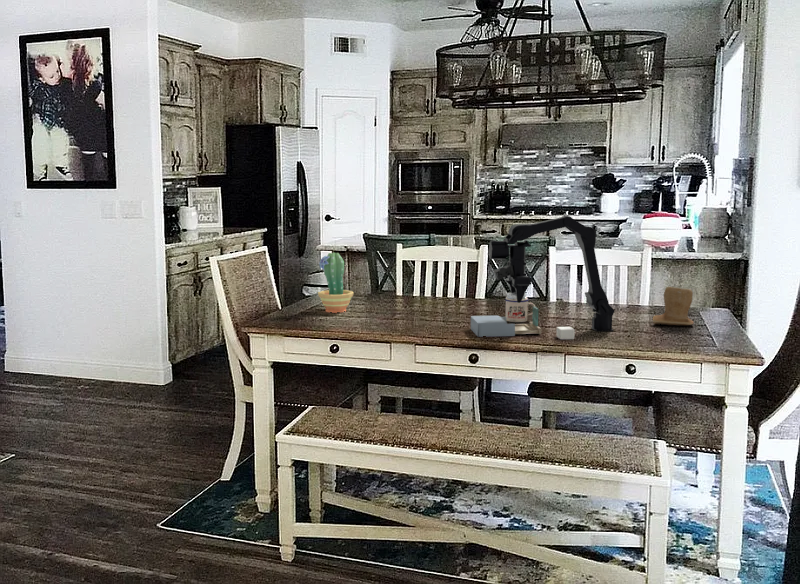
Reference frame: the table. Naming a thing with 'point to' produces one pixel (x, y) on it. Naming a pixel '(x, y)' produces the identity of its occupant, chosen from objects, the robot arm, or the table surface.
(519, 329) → the tray
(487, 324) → the housing
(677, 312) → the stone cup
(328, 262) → the potted cactus
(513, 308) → the teacup with lid
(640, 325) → the table surface
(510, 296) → the disc
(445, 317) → the table surface
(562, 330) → the pedestal
